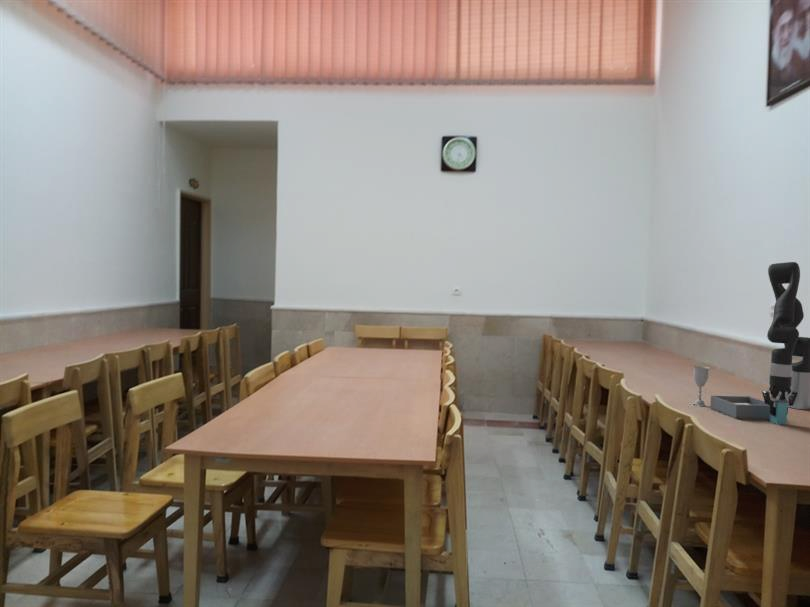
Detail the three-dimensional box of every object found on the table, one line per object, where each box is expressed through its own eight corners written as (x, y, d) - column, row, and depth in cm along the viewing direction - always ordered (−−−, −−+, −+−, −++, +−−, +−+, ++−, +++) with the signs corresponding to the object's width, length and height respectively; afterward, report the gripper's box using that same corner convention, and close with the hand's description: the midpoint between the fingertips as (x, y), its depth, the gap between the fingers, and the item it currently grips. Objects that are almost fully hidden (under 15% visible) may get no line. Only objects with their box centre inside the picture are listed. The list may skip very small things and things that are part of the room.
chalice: (687, 403, 256) (689, 366, 255) (697, 402, 259) (699, 365, 258) (700, 407, 249) (702, 368, 249) (711, 406, 252) (713, 368, 251)
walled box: (748, 409, 248) (749, 396, 248) (777, 419, 230) (777, 405, 230) (710, 408, 247) (710, 395, 247) (735, 418, 229) (736, 405, 229)
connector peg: (779, 421, 226) (780, 398, 225) (786, 424, 222) (788, 400, 221) (769, 421, 226) (770, 398, 225) (776, 424, 222) (778, 400, 221)
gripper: (790, 373, 227) (788, 413, 228) (757, 372, 226) (755, 413, 227) (804, 376, 219) (802, 418, 220) (770, 375, 219) (768, 417, 220)
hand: (778, 415), depth 224 cm, fingers closed on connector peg, 4 cm apart
